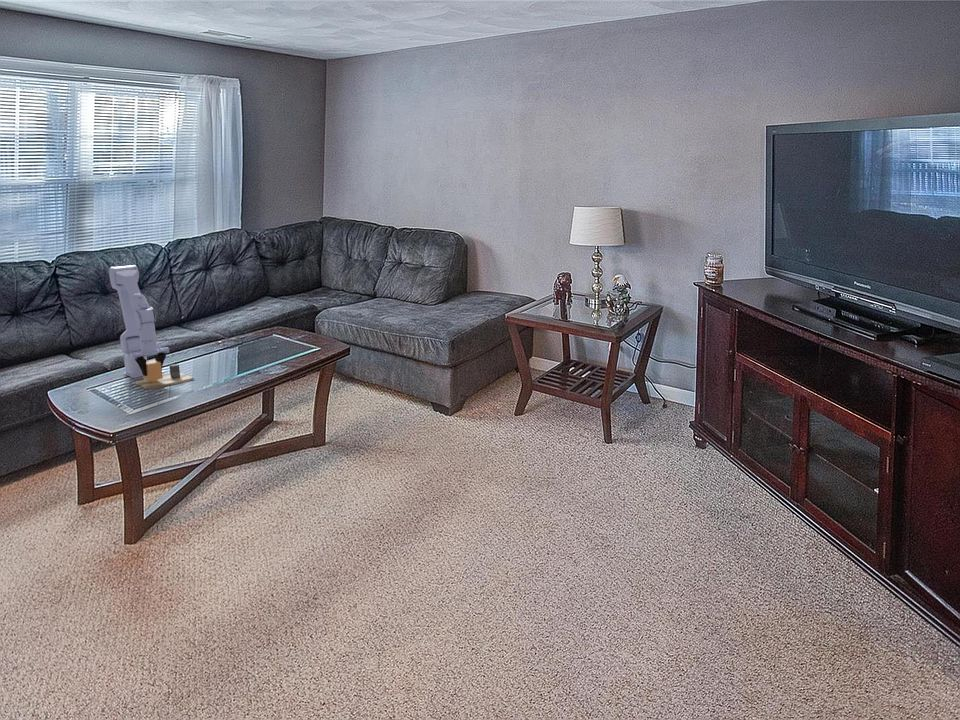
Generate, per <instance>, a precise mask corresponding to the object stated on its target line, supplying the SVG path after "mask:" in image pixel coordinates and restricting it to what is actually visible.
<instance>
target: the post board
mask: <svg viewBox="0 0 960 720" xmlns="http://www.w3.org/2000/svg"><path fill="white" fill-rule="evenodd" d="M169 372H170V373H169V374H165V375H162V377H163V379H158V382H157V383H153V384H151V383H149V382H148V381H147V380H145V379H143V380H142V379H141V380H137V381H135V382H134V384H135V385H137V386H140V387H142V388H144V389H146V390H147V391H151V390H156V389H159V388H164V387H169V386H173V385H177V384H181V383H186V382H190V381H194V380H195V377H193V376H191V375H188V374H185V373H183V372H180V364H176V363H174V364H170V365H169Z"/></svg>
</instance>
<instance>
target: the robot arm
mask: <svg viewBox="0 0 960 720" xmlns="http://www.w3.org/2000/svg"><path fill="white" fill-rule="evenodd" d="M108 276H109V281H110V286H111V288H112V289H114V290H116V291H117V294H118V297H119V299H118V300H119V302H120V307H121V312H122V316H123V317H122V318H123V322H124V327H125V331H124V332H123V333H122V334H120V337H119V341H120V343H119V344H120V349H121V352H122V353H123V354H124V357H123V361H124V369H125V372H123V375H125V376H127V377H130V378H132V379H135V378H140V377H143V375H144V376H147V369H146V361H148V357H151V356H154V358H155V359H154V360H156V361H159V362H161V368H162V369H163V365H164V362H165V359H166V358H167V354H168V353H169V354H170V348H169V347H167V346H165V347H158V343H157V335H156V334H157V333H156V326H155V323H156V322H157V314H156V311H155V309H154V307H152V305H150V304H149V302H148V300H147V298H146V296H145V294H142V293H141V291H140V287H139V285H138V283H139V279H140V272H139V267H138V266H136V264H132V265H124V266H123V265H122V266H110V268H109V269H108Z"/></svg>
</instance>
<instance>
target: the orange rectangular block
mask: <svg viewBox="0 0 960 720" xmlns="http://www.w3.org/2000/svg"><path fill="white" fill-rule="evenodd" d="M146 369H147V376H144V375H143V376H142V379H143V380H147V381H154V380H158V379H163V377H162V376H163V367H162V368H161V362H159V361H156V360H155V359H152V360H147V361H146Z"/></svg>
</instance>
